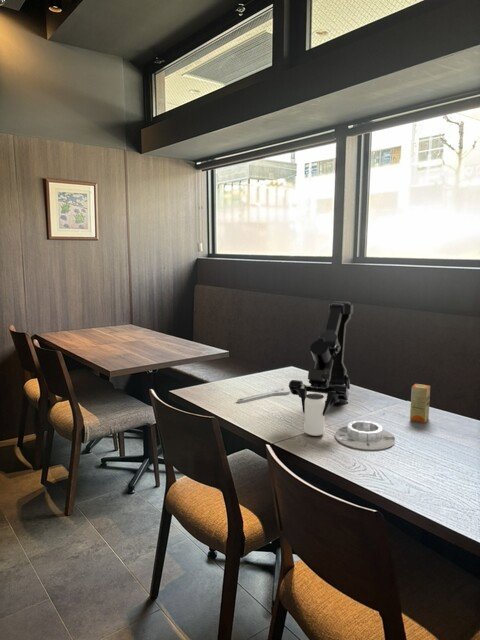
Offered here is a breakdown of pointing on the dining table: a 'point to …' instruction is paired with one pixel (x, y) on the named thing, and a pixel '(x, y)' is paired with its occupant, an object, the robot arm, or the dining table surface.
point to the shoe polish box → (420, 403)
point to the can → (314, 415)
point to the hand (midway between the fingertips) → (313, 413)
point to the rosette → (365, 436)
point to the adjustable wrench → (265, 395)
